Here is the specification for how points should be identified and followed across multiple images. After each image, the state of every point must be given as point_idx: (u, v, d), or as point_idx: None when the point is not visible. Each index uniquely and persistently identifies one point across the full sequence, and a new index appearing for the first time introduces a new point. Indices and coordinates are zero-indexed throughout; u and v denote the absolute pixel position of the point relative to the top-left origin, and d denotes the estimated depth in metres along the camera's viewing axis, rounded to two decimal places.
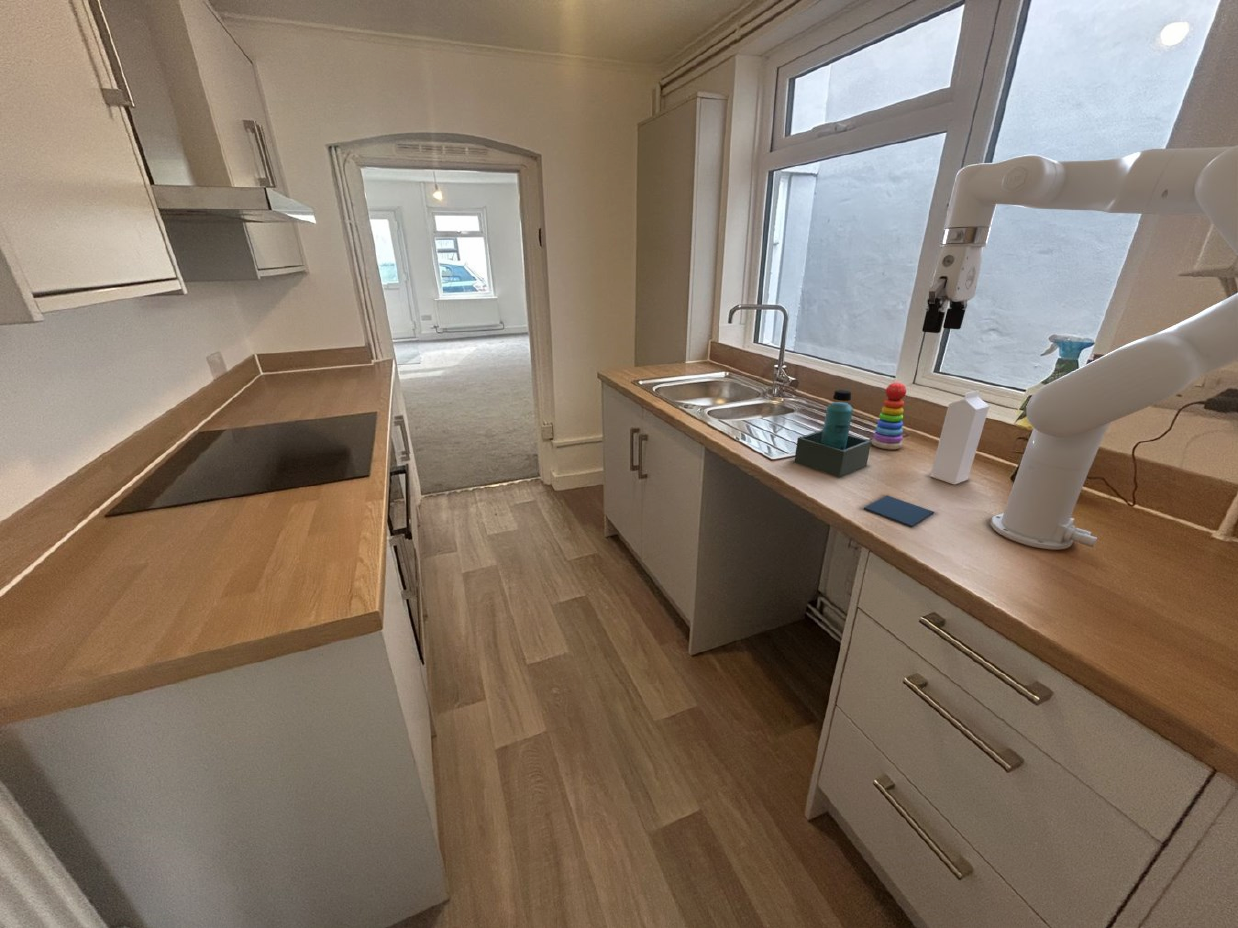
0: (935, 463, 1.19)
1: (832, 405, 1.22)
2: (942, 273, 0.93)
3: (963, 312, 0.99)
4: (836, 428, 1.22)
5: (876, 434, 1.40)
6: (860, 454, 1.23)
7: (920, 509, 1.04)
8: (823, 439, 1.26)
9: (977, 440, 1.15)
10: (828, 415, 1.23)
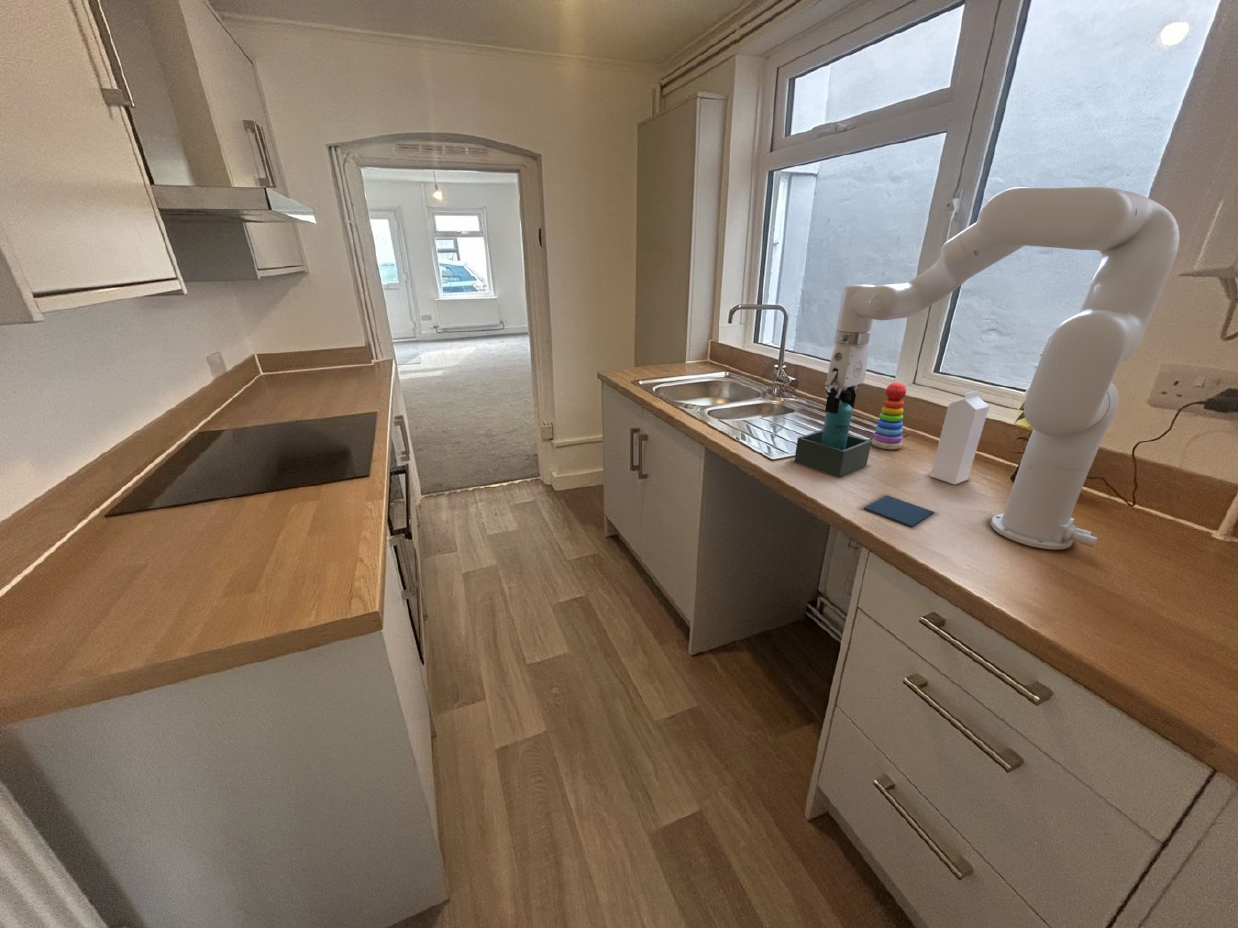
0: (935, 463, 1.19)
1: None
2: (834, 365, 1.16)
3: (854, 396, 1.23)
4: (836, 429, 1.22)
5: (876, 434, 1.40)
6: (860, 454, 1.23)
7: (920, 509, 1.04)
8: (823, 439, 1.26)
9: (977, 440, 1.14)
10: (828, 415, 1.23)
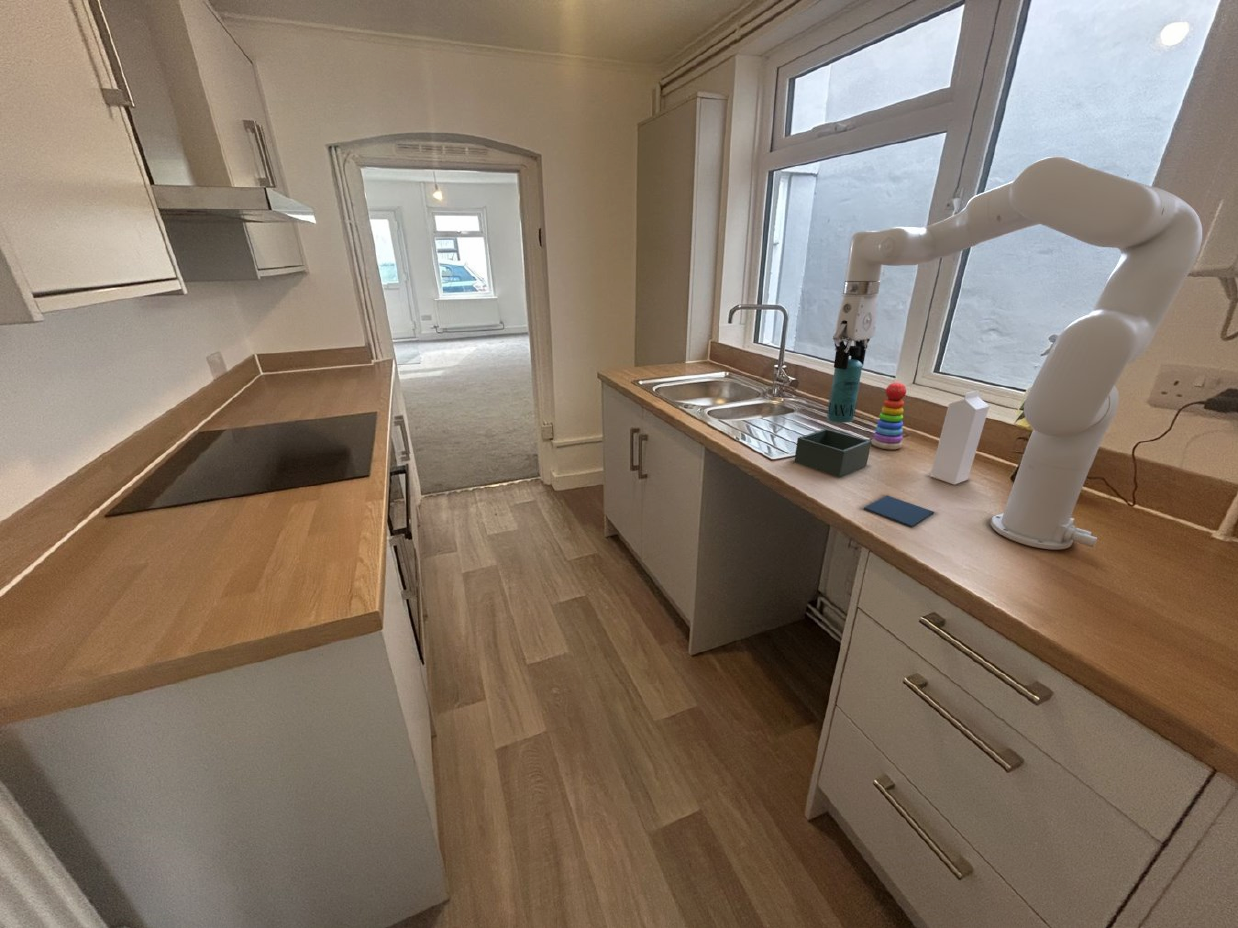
0: (935, 463, 1.19)
1: None
2: (843, 318, 1.12)
3: (864, 352, 1.18)
4: (845, 385, 1.17)
5: (876, 434, 1.40)
6: (860, 454, 1.23)
7: (920, 509, 1.04)
8: (832, 398, 1.21)
9: (977, 440, 1.14)
10: (837, 372, 1.19)
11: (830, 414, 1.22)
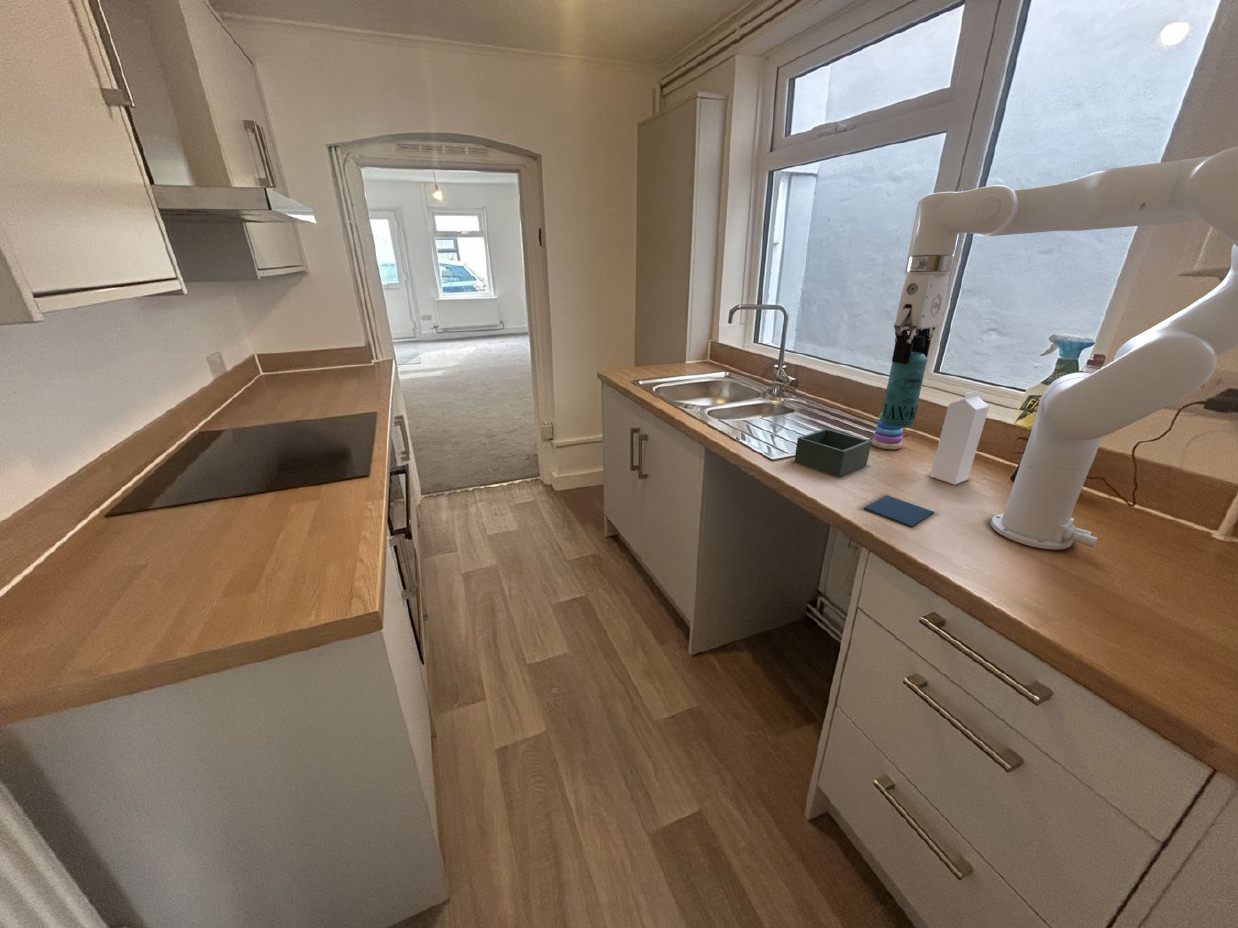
0: (935, 463, 1.19)
1: None
2: (906, 301, 0.92)
3: (928, 343, 0.98)
4: (906, 383, 0.97)
5: (876, 434, 1.40)
6: (860, 454, 1.23)
7: (920, 509, 1.04)
8: (888, 398, 1.01)
9: (977, 440, 1.14)
10: (895, 367, 0.98)
11: (885, 418, 1.02)
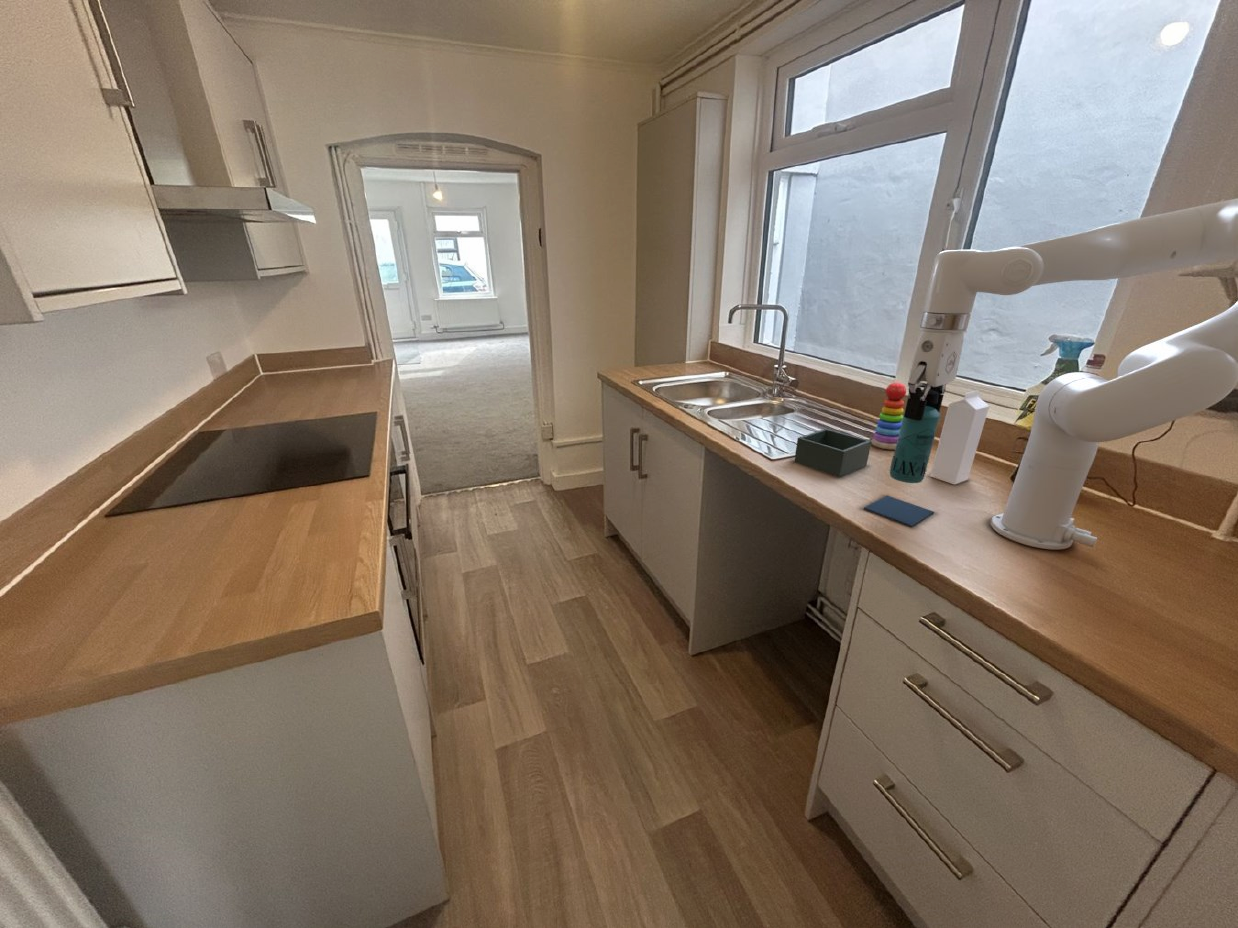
0: (935, 463, 1.19)
1: None
2: (921, 358, 0.89)
3: (941, 397, 0.95)
4: (918, 439, 0.95)
5: (876, 434, 1.40)
6: (860, 454, 1.23)
7: (920, 509, 1.04)
8: (898, 453, 0.98)
9: (977, 440, 1.14)
10: (907, 422, 0.96)
11: (895, 472, 0.99)
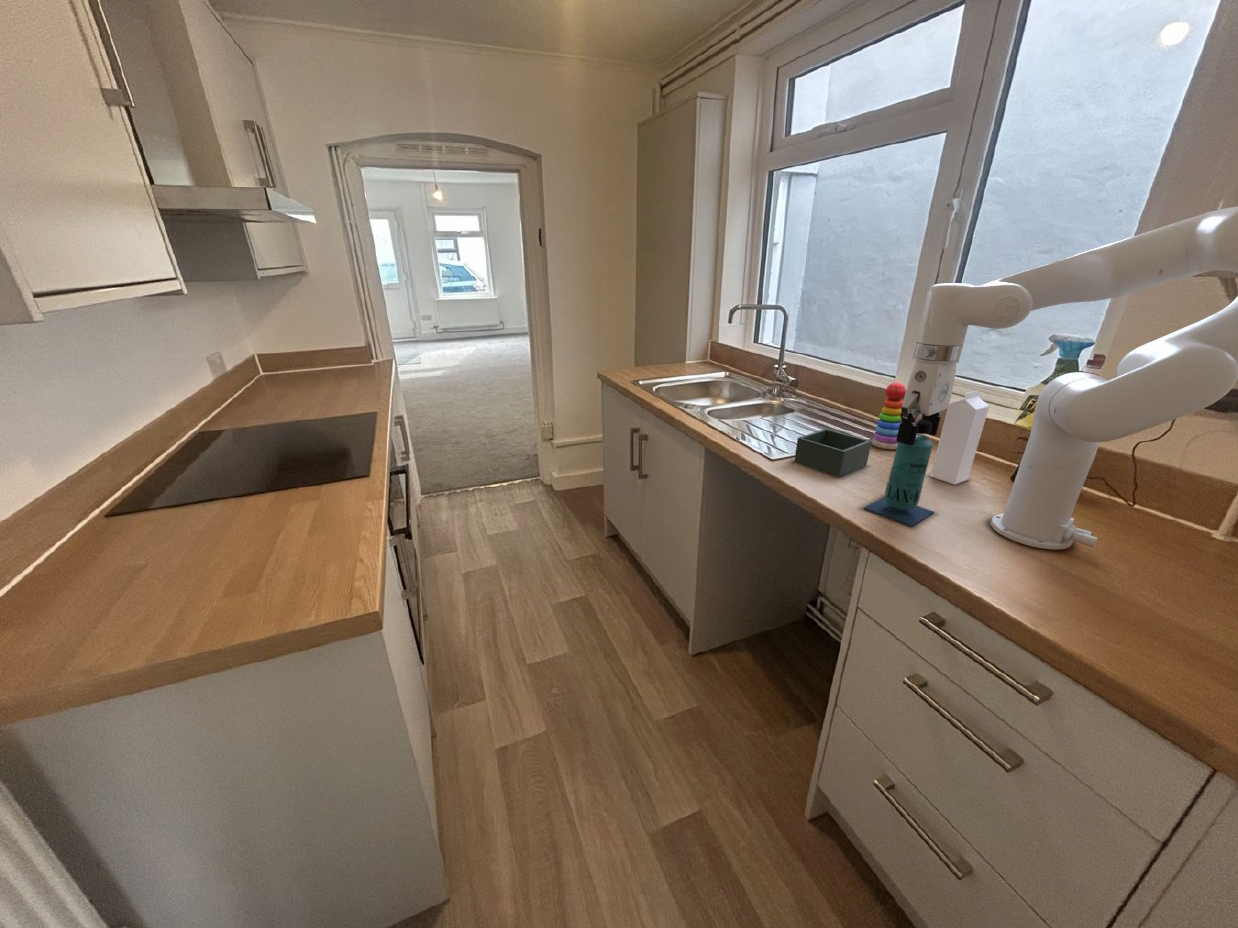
0: (935, 463, 1.19)
1: None
2: (915, 387, 0.91)
3: (938, 419, 0.98)
4: (911, 468, 0.97)
5: (876, 434, 1.40)
6: (860, 454, 1.23)
7: (920, 509, 1.04)
8: (893, 480, 1.01)
9: (977, 440, 1.14)
10: (901, 451, 0.98)
11: (889, 498, 1.02)
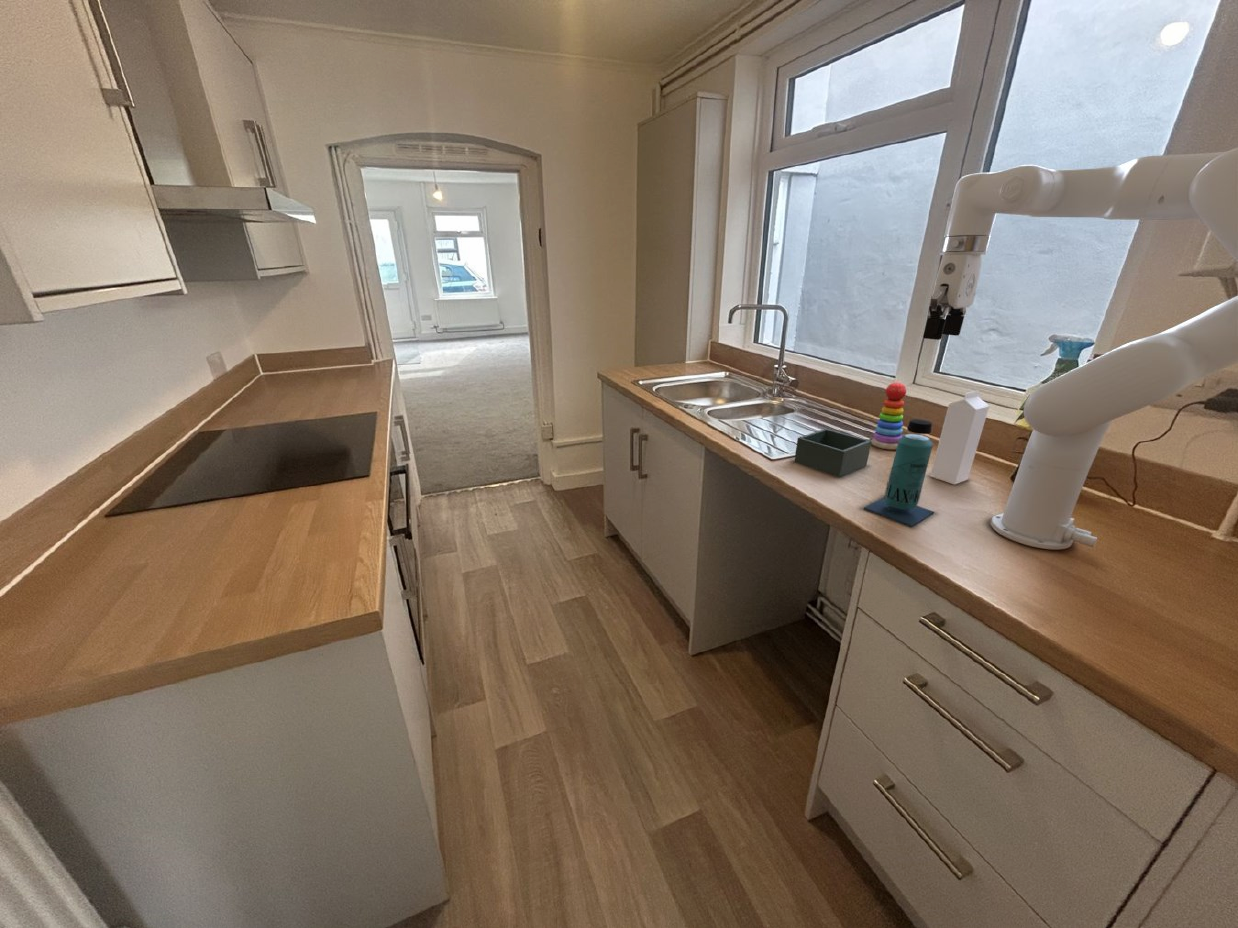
0: (935, 463, 1.19)
1: (906, 439, 0.97)
2: (943, 280, 0.94)
3: (962, 318, 1.01)
4: (911, 468, 0.97)
5: (876, 434, 1.40)
6: (860, 454, 1.23)
7: (920, 509, 1.04)
8: (893, 480, 1.01)
9: (977, 440, 1.14)
10: (901, 451, 0.98)
11: (889, 498, 1.02)
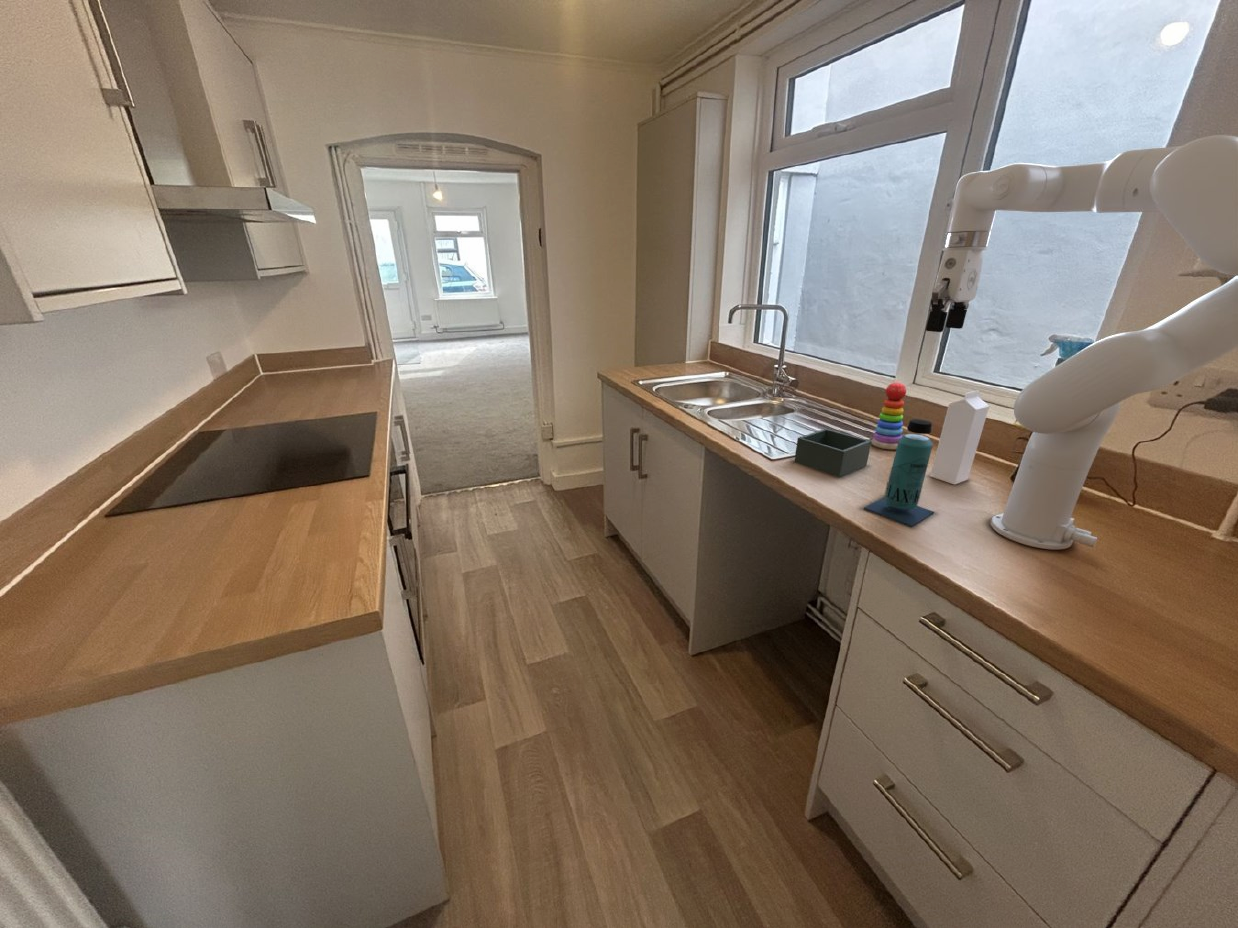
0: (935, 463, 1.19)
1: (906, 439, 0.97)
2: (944, 275, 0.97)
3: (965, 312, 1.04)
4: (911, 468, 0.97)
5: (876, 434, 1.40)
6: (860, 454, 1.23)
7: (920, 509, 1.04)
8: (893, 480, 1.01)
9: (977, 440, 1.14)
10: (901, 451, 0.98)
11: (889, 498, 1.02)
